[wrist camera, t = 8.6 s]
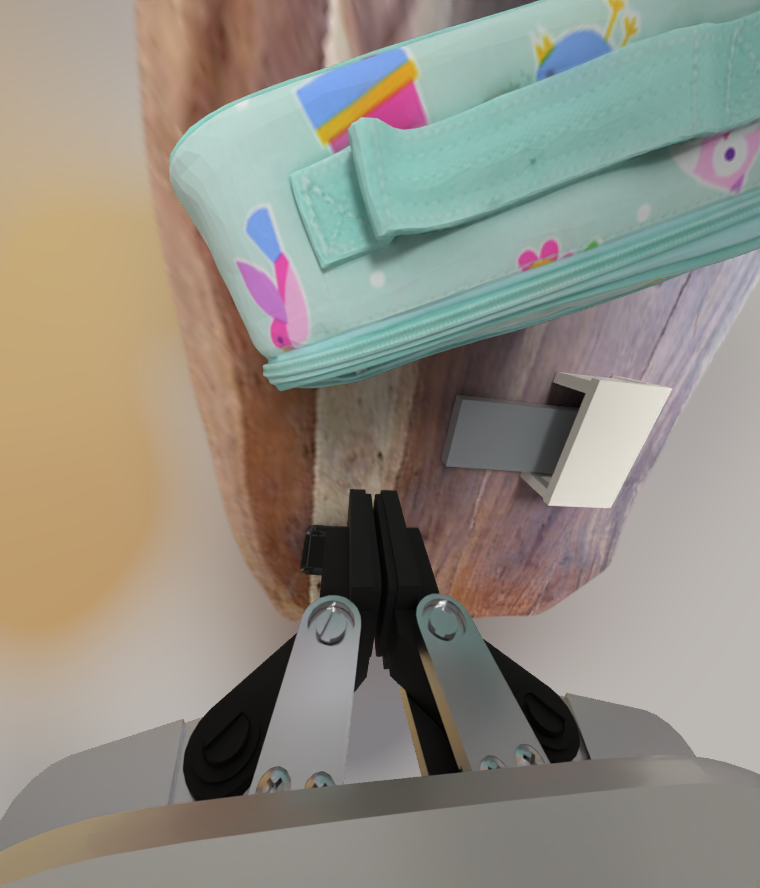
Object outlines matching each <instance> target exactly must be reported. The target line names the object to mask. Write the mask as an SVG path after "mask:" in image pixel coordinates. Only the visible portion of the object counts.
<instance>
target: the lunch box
mask: <svg viewBox="0 0 760 888" xmlns="http://www.w3.org/2000/svg"><path fill="white" fill-rule="evenodd" d="M169 165H170V180H171V184H172V187H173V190H174V193H175V195H176V197H177V198H178V200H179V201H180V203H181V204H182V206H183V207H184V209H185V211H186V212H187V214H188V215H189V217H190V218H191V220H192V221H193V223H194V225H195V226H196V228H197V229H198V231H199V232H200V234H201V236H202V237H203V239H204V240H205V242H206V243H207V245H208V247H209V249H210V251H211V253H212V256H213V258H214V261H215V263H216V265H217V268H218V270H219V272H220V274H221V276H222V278H223V280H224V282H225V284H226V285H227V287H228V289H229V292H230V294H231V296H232V298H233V300H234V303H235V305H236V307H237V309H238V312H239V314H240V316H241V318H242V320H243V322H244V324H245V326H246V328H247V331H248V333H249V336H250V338H251V340H252V342H253V344H254V346H255V347H256V349H257V350H258V351H259V352H260V353H261V354H262V355H263V356H264V357H266V358H267V359H268V363H267V364H265V365H263V370H264V372H263V375H264V376H265V377H266V378H267V379H268V380H269V382H270V384H273V385H275V386H276V387H277V389H278V390H280V391H284V390H287V389H291V388H294V387H298V388H319V387H328V386H335V385H340V384H347V383H353V382H357V381H360V380H363V379H367V378H370V377H372V376H375V375H378V374H380V373H383V372H386V371H388V370H391V369H393V368H396V367H399V366H402V365H404V364H407V363H410V362H413V361H416V360H418V359H421V358H424V357H427V356H430V355H433V354H436V353H440V352H443V351H446V350H449V349H452V348H456V347H459V346H463V345H466V344H470V343H473V342H476V341H480V340H483V339H487V338H490V337H494V336H498V335H502V334H506V333H510V332H513V331H517V330H520V329H523V328H527V327H530V326H533V325H537V324H540V323H543V322H547V321H550V320H553V319H556V318H559V317H562V316H565V315H568V314H572V313H575V312H578V311H582V310H585V309H588V308H591V307H594V306H597V305H600V304H602V303H605V302H608V301H611V300H614V299H617V298H620V297H623V296H626V295H629V294H632V293H634V292H637V291H640V290H642V289H645V288H648V287H651V286H654V285H657V284H659V283H662V282H664V281H667V280H669V279H672V278H674V277H676V276H679V275H681V274H684V273H686V272H689V271H691V270H694V269H698V268H701V267H705V266H708V265H712V264H715V263H719V262H722V261H725V260H728V259H731V258H734V257H737V256H740V255H743V254H746V253H748V252H751V251H753V250H756V249H759V248H760V0H539V1H536V2H533V3H530V4H526V5H523V6H520V7H516V8H513V9H510V10H507V11H503V12H500V13H497V14H493V15H490V16H487V17H483V18H480V19H477V20H473V21H470V22H466V23H463V24H459V25H456V26H452V27H449V28H445V29H442V30H438V31H435V32H432V33H429V34H426V35H422V36H419V37H416V38H413V39H410V40H407V41H404V42H400V43H397V44H394V45H391V46H388V47H385V48H382V49H378V50H376V51H373V52H370V53H367V54H364V55H361V56H358V57H356V58H353V59H350V60H347V61H344V62H341V63H338V64H336V65H333V66H330V67H327V68H324V69H321V70H318V71H315V72H312V73H309V74H306V75H303V76H300V77H296V78H293V79H290V80H287V81H285V82H282V83H279V84H276V85H274V86H271V87H268V88H265V89H263V90H260V91H258V92H255V93H253V94H250V95H248V96H245V97H243V98H241V99H238V100H236V101H234V102H231V103H229V104H226V105H225V106H223V107H221V108H219V109H217V110H216V111H214V112H212V113H210V114H208V115H207V116H205V117H204V118H203V119H201V120H200V121H198V122H197V123H196V124H194V125H193V126H192V127H190V128H189V129H188V131H187V132H186V133H185V134H184V135H183V136H182V138H181V139H180V140H179V141H178V143H177V144H176V146H175V148H174V149H173V151H172V153H171V154H170V162H169Z"/></svg>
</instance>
